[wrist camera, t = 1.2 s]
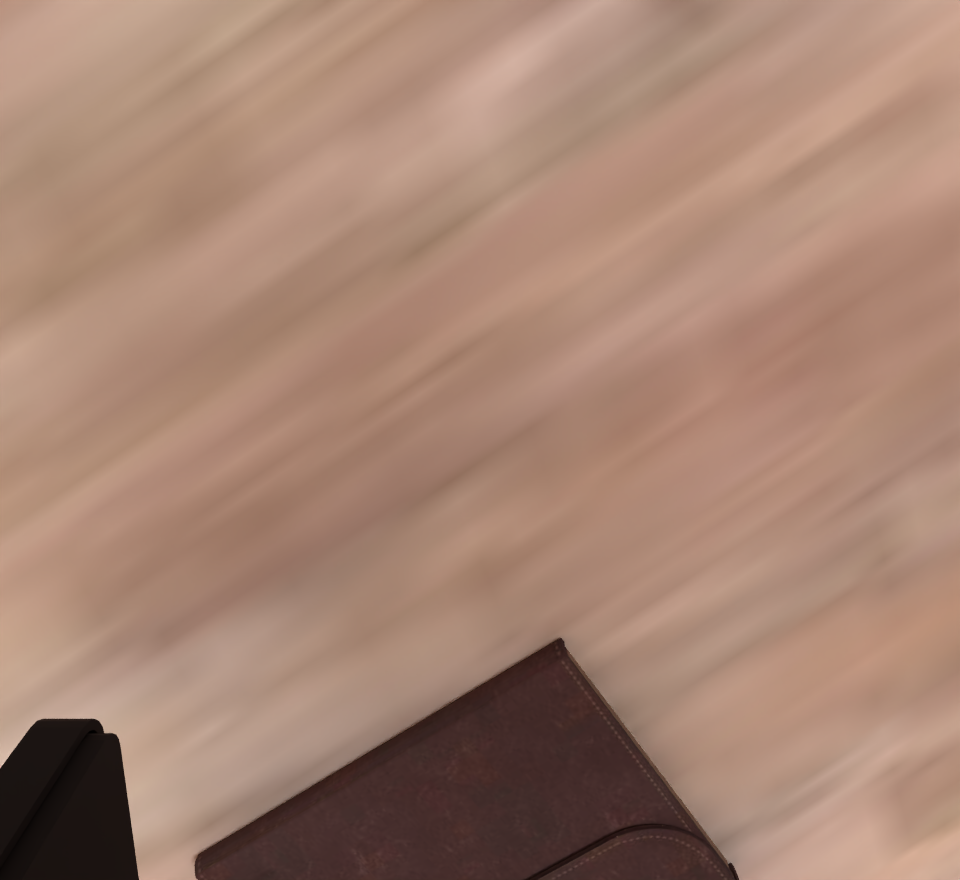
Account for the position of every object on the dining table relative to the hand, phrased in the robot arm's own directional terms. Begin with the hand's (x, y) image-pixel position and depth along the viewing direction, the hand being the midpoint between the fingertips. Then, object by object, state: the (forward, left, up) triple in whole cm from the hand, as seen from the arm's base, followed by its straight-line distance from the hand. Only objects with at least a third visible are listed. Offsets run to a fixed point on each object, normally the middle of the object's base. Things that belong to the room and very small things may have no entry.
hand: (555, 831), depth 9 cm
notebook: (+11, +22, -25) cm, 35 cm away
